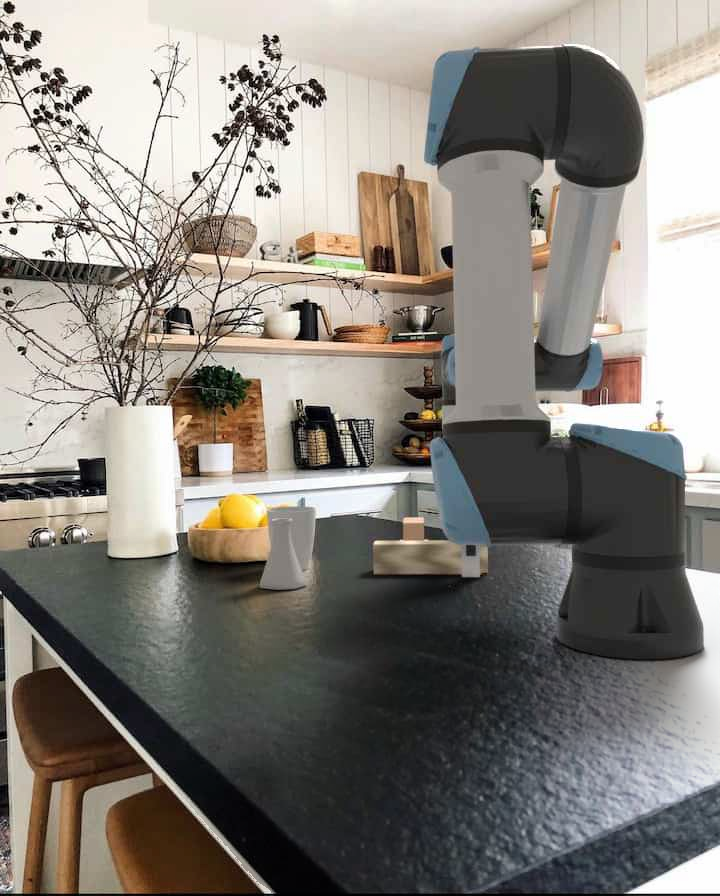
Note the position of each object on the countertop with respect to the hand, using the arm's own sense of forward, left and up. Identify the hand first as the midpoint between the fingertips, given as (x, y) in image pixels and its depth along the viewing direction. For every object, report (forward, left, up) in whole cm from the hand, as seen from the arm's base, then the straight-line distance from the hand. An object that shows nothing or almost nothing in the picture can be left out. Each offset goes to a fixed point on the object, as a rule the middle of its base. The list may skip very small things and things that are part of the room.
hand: (468, 569), depth 131 cm
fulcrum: (+2, +14, 0) cm, 14 cm away
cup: (-17, +24, 0) cm, 29 cm away
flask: (-27, +14, -1) cm, 30 cm away
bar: (-4, +4, -1) cm, 6 cm away
